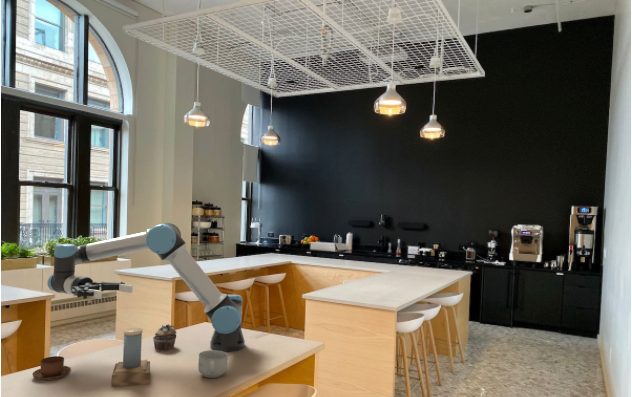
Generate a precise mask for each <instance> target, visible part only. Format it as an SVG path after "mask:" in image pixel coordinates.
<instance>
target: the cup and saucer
mask: <svg viewBox="0 0 632 397" xmlns="http://www.w3.org/2000/svg"><path fill="white" fill-rule="evenodd" d="M71 370H72V368H71V367H70V366H67V365H65V357H64V356H59V355H56V356H55V355H54V356H48V357H44V358H42V359H41V360H40V368H39V369H36V370H34V371H33V372H32V377H33V378H34V379H35V380H41V381H51V380H52V381H53V380H57V379H61V378H64V377H65V376H67V375H68V374H69V373H70V372H71Z"/></svg>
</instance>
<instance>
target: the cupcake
mask: <svg viewBox="0 0 632 397" xmlns="http://www.w3.org/2000/svg"><path fill="white" fill-rule="evenodd" d="M154 333H155V334H154V337H152V338H153V344H154V346H153V347H154V350H155V351H158V352H167V351H171V350H173V349H174V348H175V342H176V338H177V331H176V329H175V326H174V325H170V324H169V323H168V324H166V325H161V326H160V328H159V327H158V330H157V331H156V332H154Z"/></svg>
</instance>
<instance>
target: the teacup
mask: <svg viewBox="0 0 632 397" xmlns="http://www.w3.org/2000/svg"><path fill="white" fill-rule="evenodd" d="M228 360H229V353H227V351H217V350H214V349H212V350H211V349H210V350H209V349H208V350H204V351H200V352H199V353H198V366H197V368H198V372H199V373H200V374H201V375H202V376H203V377H205V378H210V379H214V378H219V377H221V376H222V375H223V374H225V372H226V370H227V367H228Z"/></svg>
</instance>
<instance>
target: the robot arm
mask: <svg viewBox="0 0 632 397" xmlns="http://www.w3.org/2000/svg"><path fill="white" fill-rule="evenodd" d="M144 250H150V251H151V252H152V253H154V254H156V255H157V256H158V257H159V258H160V259H161V260H162V262H165V263H169V264H170V265H171V267H172V269H174V270H175V273H177V275H178V276H179V277H180V278H181V279H182V281H184V283H185V284H186V286H187V287H188V288H189V289H190V291H192V293H193V294H194V295H195V297H196V298H197V299H198V300H199V302H201V305H203V306H204V314H205V315H206V317H207V318H208V319H209V320H210V322H211V326H212V328H213V329H214V331H213V334H212V336H211V340H210V345H209V346H210V349H212V350H217V351H223V352H234V351H239V350H242V349H243V348H244V347H245V344H246V343H245V338H244V335H243V330H242V315H243V297H242V296H241V295H239V294H227V293H222V292H221V291H220V290H219V289H218V287H217V286H216V285H215V284H214V282H213V281H212V280H211V278H210V277H209V276H208V275H207V273H206V271H204V270H203V269H202V267H201V266H200V265H199V263H198V262H197V261H196V260H195V258H194V257H193V255H191V253H190V252H189V251H188V250H187V243H186V241H185V240H184V239H183V237H182V233H181V231H180V228H179V227H178V226H177V225H175V224H173V223H171V222H164V223H159V224H158V223H157V224H155V225H154V226H153V227H151V228H148V229H147V230H146V231H143V232H138V233H133V234H129V235H125V236H120V237H119V236H118V237H115V238H110V239H106V240H105V239H104V240H100V241H99V240H98V241H95V242H91V243H84V244H81V245H75V244H73V243H59V244H56V245H55V247H54V253H53V273H52V274H51V275H49V277H48V279H47V283H46V284H47V287H48V288H49V290H51V291H53V292H56V293H60V294H67V295H72V296H73V297H77V298H82V300H87V299H88V298H92V299H97V300H98V299H99V300H101V299H102V298H103V297H102V296H103V292H104V291H105V292H106V291H118V292H122V293H126V294H127V293H128V294H132V293H133V288H134V287H133V285H130V284H126V282H123V281H120V282H110V281H101V282H97V281H94V280H93V279H92V278H91V277H88V276H87V277H86V276H82V275H76V274H75V272H76V265H79V264H83V263H88V262H93V261H97V260H101V259H106V258H111V257H117V256H120V255H127V254H131V253H135V252H139V251H144Z"/></svg>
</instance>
